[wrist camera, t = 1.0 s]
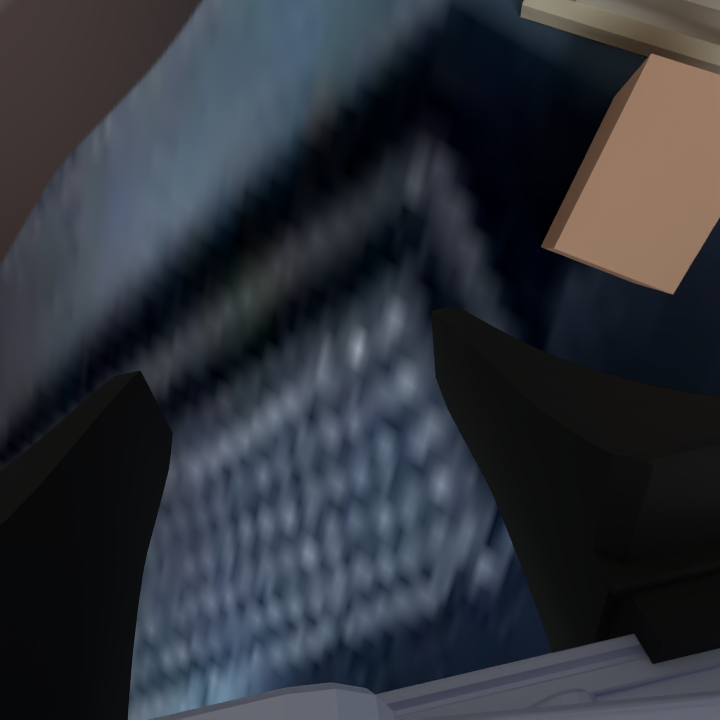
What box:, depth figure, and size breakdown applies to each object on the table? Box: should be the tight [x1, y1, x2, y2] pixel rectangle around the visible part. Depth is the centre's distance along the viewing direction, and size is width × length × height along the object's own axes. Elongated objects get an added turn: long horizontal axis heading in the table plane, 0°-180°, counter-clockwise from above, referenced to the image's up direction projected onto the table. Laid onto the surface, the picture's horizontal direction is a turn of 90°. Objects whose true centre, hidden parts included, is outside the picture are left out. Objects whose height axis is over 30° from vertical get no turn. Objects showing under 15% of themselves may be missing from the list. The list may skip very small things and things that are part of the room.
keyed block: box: [541, 53, 720, 294], centre depth 17 cm, size 4×6×4 cm, turn 159°
